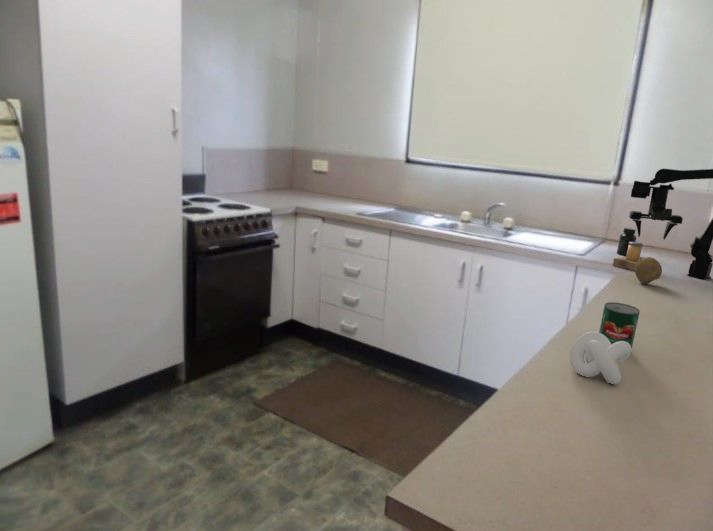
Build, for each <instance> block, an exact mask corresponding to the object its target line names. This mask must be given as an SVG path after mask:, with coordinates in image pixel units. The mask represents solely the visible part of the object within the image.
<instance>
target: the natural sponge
mask: <svg viewBox="0 0 713 531" xmlns="http://www.w3.org/2000/svg"><path fill="white" fill-rule="evenodd" d="M634 272H635V273H634V274H635V276H636V278H637V280H638V281H639V283H641V284H643V285H648V284H650V283H651V282H654V281H655V280H658V279H660V277H661V276H662V274H663V269H662V265H661V263H660V262H659V261H658V260H657V259H655V258H654V257H651V256H649V257H642V258H640V259H639V260H638V261H637V262H636V264H635V271H634Z"/></svg>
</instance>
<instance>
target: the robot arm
mask: <svg viewBox="0 0 713 531" xmlns="http://www.w3.org/2000/svg"><path fill="white" fill-rule="evenodd" d="M706 179H707V180H710V179H713V168H709V169H708V168H705V169H704V168H701V169H685V170H682V169H673V168H660V169H658V170H657V171H656V172H655V174H654V178H652V179H650V180H649V182H648V181H647V182H646V181H639V180H634V181H633V185H632V188H631V192H630V198H634V199H635V198H637V199H645V200H646V199H647V197H650V195H651V197H650V201H649V206H648V212H647V213H643V212H642V211H639V210H638V211H637V210H630V212H629V216H628V217H629V219H631V220H632V221H633V222H635V226H636V231H637V236H638V237H639V238H640V237H641V232H642V229H641V226H642V219H647V220H649V219H650V220H652V221H660V222H664V221H667V222H666V226H665V229H664V233H663V238H662V240H666V238H667V236H668V235H669V233H670V232H671V230H672V229H673V228H674V227H675V226H679V225H682V224H683V217H682V216H681V215H678V214H673V208H667V200H668V196H669V192H670V191H674V190H675V187H673V185H672V183H673V182H679V181H685V180H689V181H690V180H706ZM658 184H659V186H655V185H658ZM712 242H713V217H712V218H711V219H710V222H709V223H708V224H707V227H706V228H705V229H704V232H703V233H702V234H701V235H700V236H696V235H695V237H694V239H693V242H692V243H691V244H690V245H689V246H690V253H691V256H692V257H693V258H695V259H692V261H691V263H690V265H689V269H688V273H687V276H689V277H693V278H696V279H700V280H708V279H712V276H711V272H712V268H713V263H712V262H713V256H712V255H711V254H710V253H709V252H710V249H711V245H712V244H713V243H712Z"/></svg>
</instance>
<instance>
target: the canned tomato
mask: <svg viewBox="0 0 713 531" xmlns="http://www.w3.org/2000/svg"><path fill="white" fill-rule="evenodd" d="M640 312H641V311H640V309H639V308H638V307H636V306H633V305H629V304H626V303H622V302H613V301H610V302H605V303H604V308H603V311H602V317H601V323H600V327H599V331H598V332H599V333H601V334H603V335H604V336H606V337H607V338H608V340H609V341H610V343H611V345H612V344H613V343H615V342H619V341H625V342H628V343H629V344H630V345H631V348H632V349H633V344H634V340H635V337H636V331H637V328H638V327H637V326H638V321H639V317H640Z"/></svg>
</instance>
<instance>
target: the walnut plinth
mask: <svg viewBox="0 0 713 531" xmlns="http://www.w3.org/2000/svg"><path fill="white" fill-rule="evenodd" d="M635 264H636V262H634V261H629V260H626V256H623V257H622V256H621V257H616V258H613V262H612V266H614V267H617V268H621V269H625V270H628V271H632V272H635Z"/></svg>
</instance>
